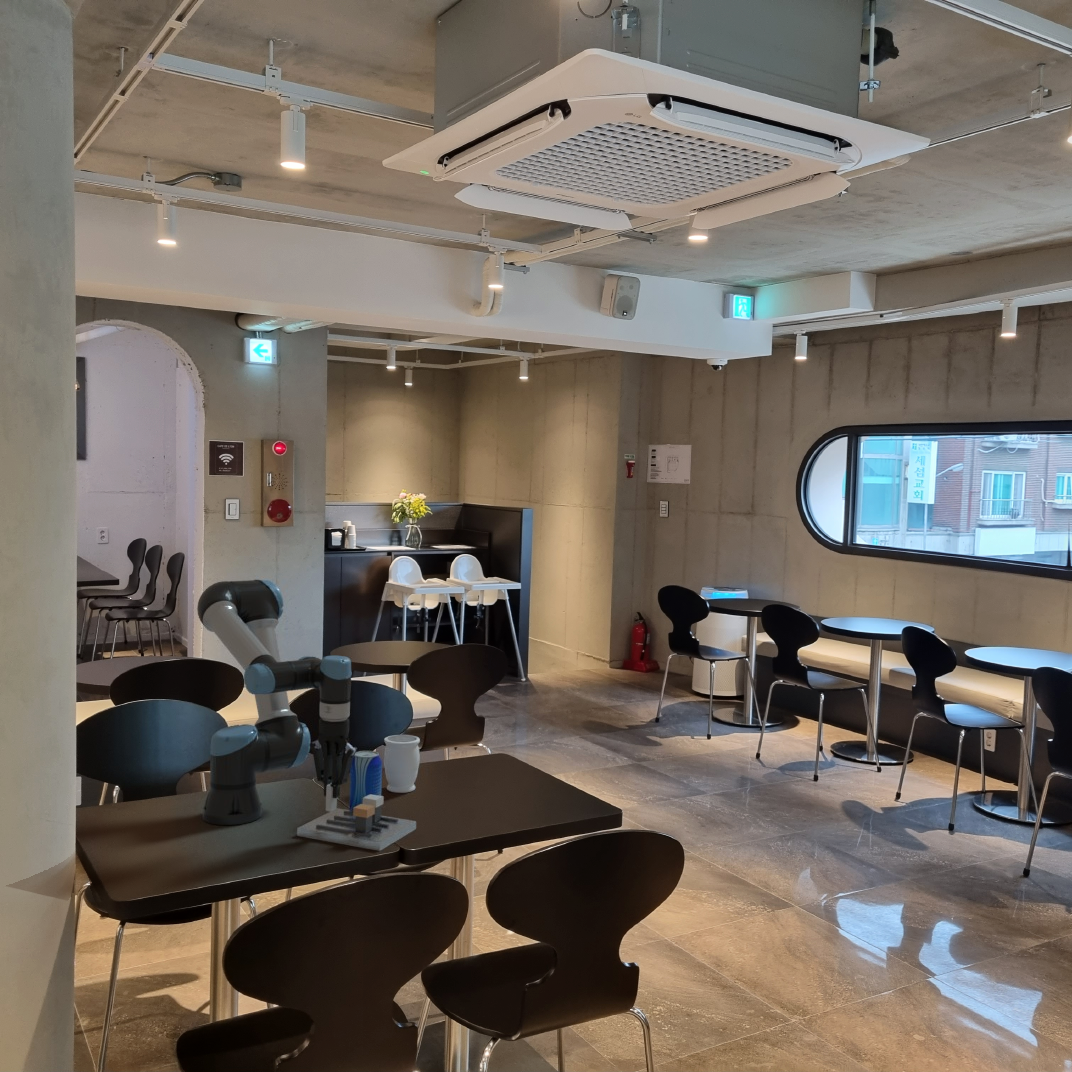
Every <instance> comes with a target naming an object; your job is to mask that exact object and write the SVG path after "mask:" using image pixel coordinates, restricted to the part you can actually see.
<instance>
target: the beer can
mask: <svg viewBox="0 0 1072 1072" xmlns="http://www.w3.org/2000/svg"><path fill="white" fill-rule="evenodd" d="M382 768H383V761H382V759H381V758H380V754H379V752H378V751H373V750H359V751H357V752H356V753H355V755H354V757H353V760H352V764H351V768H350V772H349V810H351V811H353V808H354V807H356V806H358V805H360V804H363V798H364V797H366V796H368V795H370V794H372V795H378V796H382V776H383V775H382V773H383V772H382Z"/></svg>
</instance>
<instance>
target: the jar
mask: <svg viewBox="0 0 1072 1072" xmlns="http://www.w3.org/2000/svg"><path fill="white" fill-rule="evenodd" d="M420 742H421V740H420V737H418V736H415V735H411V734H395V735H389V736H386V737H385V738H384V743H385V748H384V754H383V766H384V771H385V778H386V781H387V783H388V784H387V786H386V790H387V791H389V792H391V793H396V794H405V793H410V792H413V791H415V789H416V785H415V784H414V783H416V780H417V777H418V772H419V767H420V760H421V758H420V757H421V756H420V748H419V744H420Z"/></svg>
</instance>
